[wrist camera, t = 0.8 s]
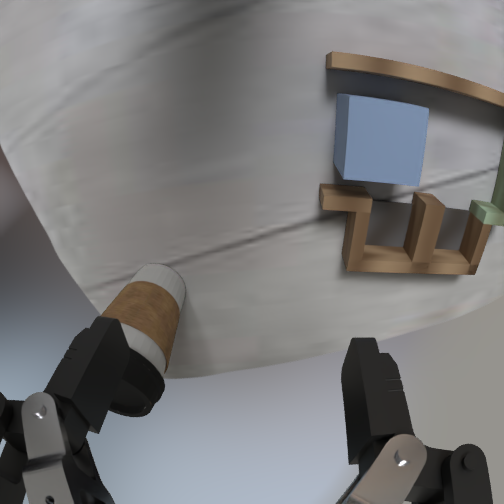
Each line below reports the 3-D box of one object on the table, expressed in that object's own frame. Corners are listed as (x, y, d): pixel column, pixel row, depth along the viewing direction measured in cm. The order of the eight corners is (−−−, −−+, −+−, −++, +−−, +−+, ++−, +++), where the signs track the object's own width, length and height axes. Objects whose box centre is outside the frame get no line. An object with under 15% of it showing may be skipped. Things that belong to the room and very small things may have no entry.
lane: (313, 252, 30) (315, 269, 27) (326, 54, 21) (331, 51, 18) (481, 260, 28) (493, 275, 26) (516, 101, 19) (534, 106, 17)
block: (337, 93, 22) (349, 95, 18) (404, 102, 22) (429, 108, 18) (333, 161, 26) (343, 179, 21) (397, 168, 25) (418, 186, 21)
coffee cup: (191, 253, 31) (138, 371, 18) (201, 316, 36) (167, 430, 23) (118, 251, 32) (45, 351, 19) (136, 311, 36) (86, 411, 24)
